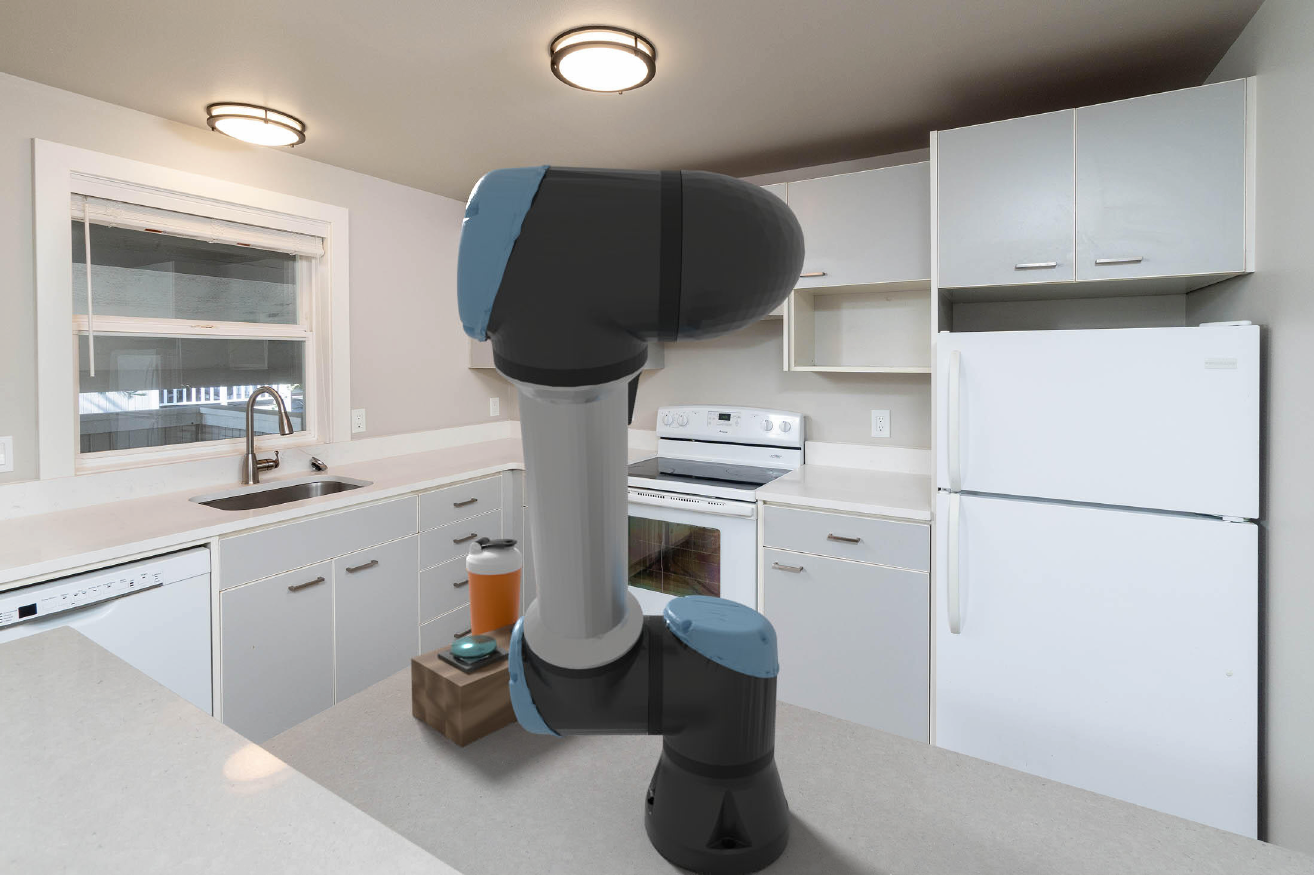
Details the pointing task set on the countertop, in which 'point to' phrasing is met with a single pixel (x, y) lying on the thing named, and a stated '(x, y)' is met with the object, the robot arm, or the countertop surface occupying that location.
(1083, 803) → the countertop surface
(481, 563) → the shaker bottle
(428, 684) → the socket block
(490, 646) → the peg left
